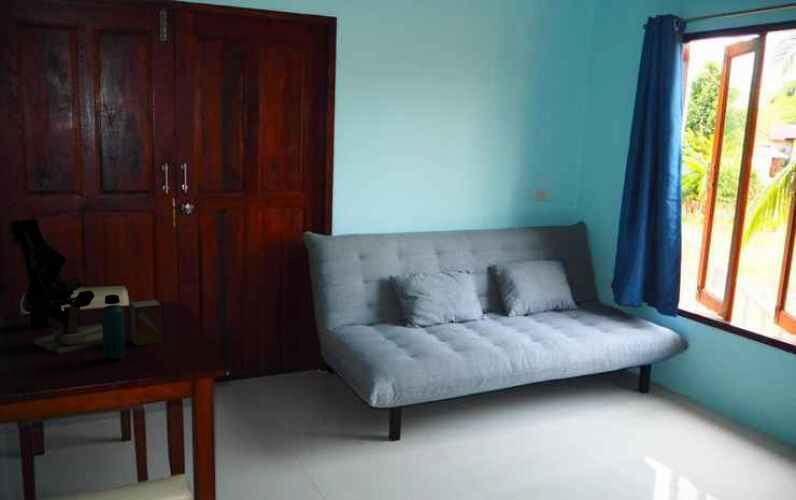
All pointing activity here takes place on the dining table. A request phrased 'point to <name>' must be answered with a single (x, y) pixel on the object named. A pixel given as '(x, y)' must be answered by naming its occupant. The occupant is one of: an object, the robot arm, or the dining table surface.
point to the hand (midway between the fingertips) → (74, 324)
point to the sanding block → (70, 328)
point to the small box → (146, 322)
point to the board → (92, 338)
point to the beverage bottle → (113, 328)
